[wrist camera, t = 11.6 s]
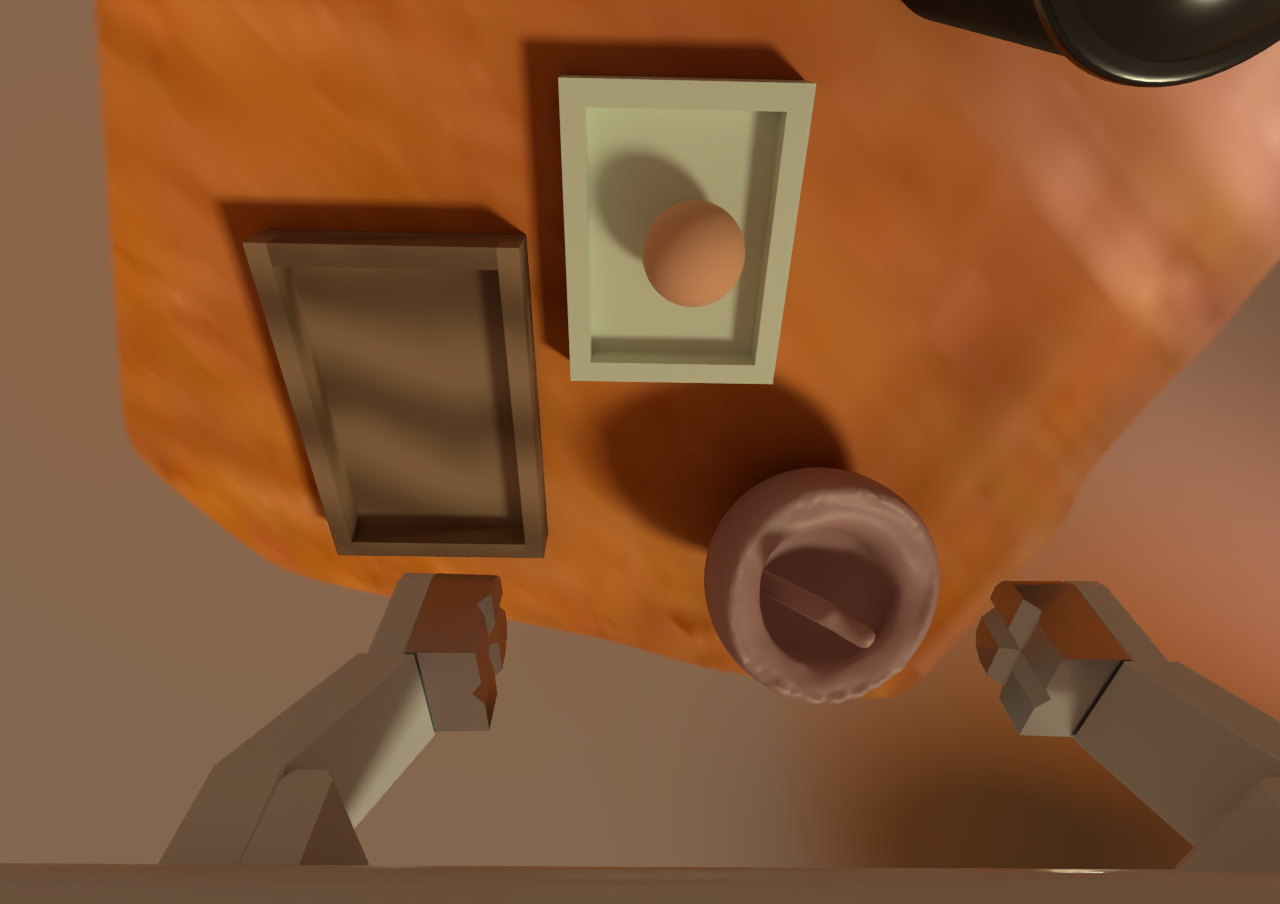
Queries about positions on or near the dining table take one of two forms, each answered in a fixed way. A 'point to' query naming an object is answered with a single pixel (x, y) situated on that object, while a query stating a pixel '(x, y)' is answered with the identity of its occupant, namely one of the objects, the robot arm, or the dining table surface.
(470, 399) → the dish
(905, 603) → the mortar and pestle
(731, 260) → the ball
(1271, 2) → the drinking cup
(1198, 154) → the dining table surface
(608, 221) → the tray
